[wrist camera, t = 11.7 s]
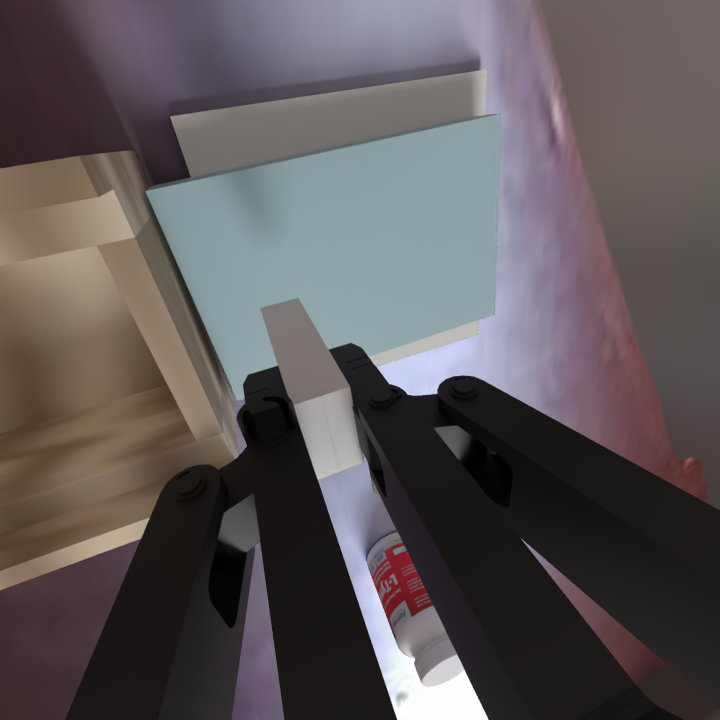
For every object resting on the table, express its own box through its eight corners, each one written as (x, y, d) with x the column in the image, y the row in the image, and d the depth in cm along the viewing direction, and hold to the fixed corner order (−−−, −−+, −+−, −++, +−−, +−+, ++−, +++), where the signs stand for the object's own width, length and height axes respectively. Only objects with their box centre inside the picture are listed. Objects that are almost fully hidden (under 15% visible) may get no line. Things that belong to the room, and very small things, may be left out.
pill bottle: (369, 534, 37) (423, 662, 28) (425, 522, 39) (490, 637, 30) (361, 574, 40) (406, 702, 31) (413, 561, 42) (470, 677, 33)
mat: (266, 396, 26) (268, 401, 25) (170, 117, 17) (169, 116, 17) (473, 331, 29) (478, 334, 28) (480, 71, 20) (486, 69, 20)
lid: (235, 379, 24) (237, 401, 22) (152, 185, 18) (145, 191, 16) (474, 301, 27) (495, 314, 25) (473, 116, 21) (501, 113, 19)
